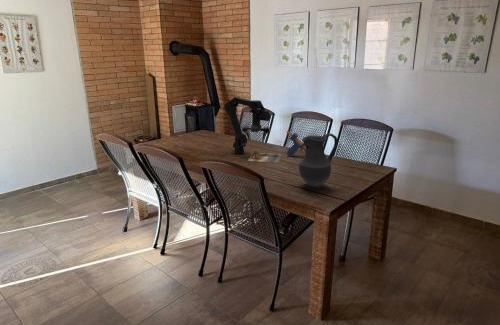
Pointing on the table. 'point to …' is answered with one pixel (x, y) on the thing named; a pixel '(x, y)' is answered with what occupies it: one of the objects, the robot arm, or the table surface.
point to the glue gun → (295, 145)
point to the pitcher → (316, 161)
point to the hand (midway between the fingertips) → (256, 141)
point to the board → (266, 157)
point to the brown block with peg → (255, 154)
